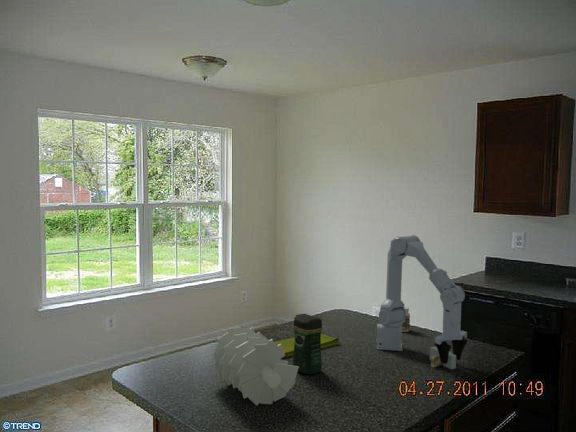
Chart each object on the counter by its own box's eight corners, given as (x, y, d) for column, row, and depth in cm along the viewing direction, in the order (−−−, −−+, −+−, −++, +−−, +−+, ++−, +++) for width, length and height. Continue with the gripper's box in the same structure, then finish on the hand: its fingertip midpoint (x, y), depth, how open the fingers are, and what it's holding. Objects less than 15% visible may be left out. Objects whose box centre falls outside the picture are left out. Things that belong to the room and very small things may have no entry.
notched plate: (429, 359, 172) (429, 347, 172) (434, 358, 173) (434, 346, 173) (451, 369, 163) (451, 356, 163) (455, 368, 164) (456, 355, 164)
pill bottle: (409, 332, 204) (410, 309, 203) (395, 331, 205) (396, 308, 204) (409, 328, 209) (409, 306, 209) (395, 328, 211) (396, 305, 210)
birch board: (433, 367, 164) (433, 357, 164) (430, 366, 165) (431, 356, 165) (452, 361, 170) (452, 352, 170) (449, 360, 171) (449, 351, 171)
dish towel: (241, 352, 179) (241, 343, 179) (315, 335, 200) (315, 328, 200) (263, 364, 167) (263, 355, 166) (340, 345, 187) (340, 337, 187)
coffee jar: (325, 371, 159) (326, 316, 158) (307, 377, 155) (308, 320, 154) (306, 363, 167) (307, 310, 166) (288, 368, 162) (289, 313, 161)
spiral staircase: (259, 426, 131) (221, 388, 152) (308, 387, 138) (266, 356, 160) (234, 373, 125) (198, 342, 146) (287, 335, 133) (246, 311, 154)
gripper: (447, 328, 156) (446, 369, 157) (475, 321, 164) (473, 360, 165) (430, 322, 162) (429, 362, 163) (457, 317, 170) (456, 354, 171)
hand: (450, 361), depth 165 cm, fingers open, 6 cm apart
